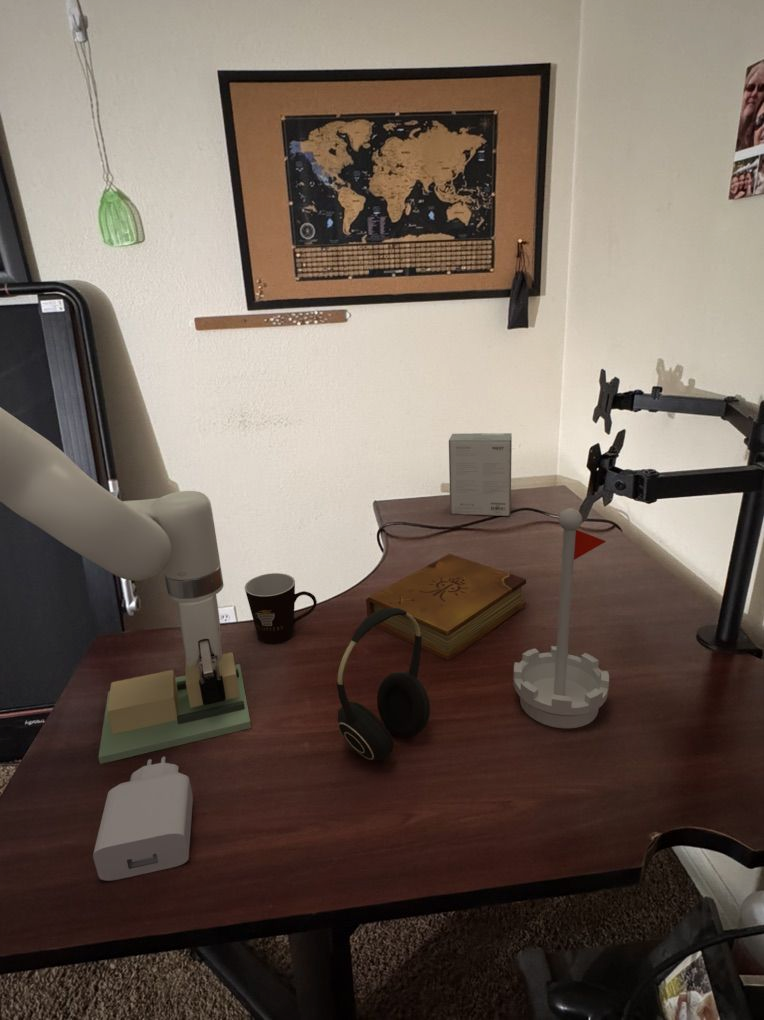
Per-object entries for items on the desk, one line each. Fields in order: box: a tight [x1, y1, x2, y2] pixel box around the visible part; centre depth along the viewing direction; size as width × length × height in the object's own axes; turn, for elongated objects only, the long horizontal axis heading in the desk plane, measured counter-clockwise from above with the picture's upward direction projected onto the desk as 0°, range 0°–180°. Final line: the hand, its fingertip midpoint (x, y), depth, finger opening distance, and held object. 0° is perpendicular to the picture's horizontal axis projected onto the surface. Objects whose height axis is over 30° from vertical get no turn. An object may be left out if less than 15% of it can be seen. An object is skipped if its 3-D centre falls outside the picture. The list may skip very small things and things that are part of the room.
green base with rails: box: [98, 663, 252, 765], centre depth 92 cm, size 20×15×5 cm
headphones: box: [336, 608, 431, 761], centre depth 81 cm, size 9×15×20 cm, turn 135°
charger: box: [92, 756, 194, 882], centre depth 74 cm, size 5×9×15 cm
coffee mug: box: [244, 572, 318, 645], centre depth 109 cm, size 12×9×10 cm
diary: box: [365, 553, 527, 662], centre depth 115 cm, size 23×19×6 cm
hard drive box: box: [448, 432, 513, 517], centre depth 161 cm, size 16×8×20 cm, turn 77°
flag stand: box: [512, 507, 610, 729], centre depth 86 cm, size 13×13×30 cm
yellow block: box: [184, 652, 240, 708], centre depth 93 cm, size 7×6×4 cm
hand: (213, 687), depth 93 cm, fingers closed on yellow block, 6 cm apart
